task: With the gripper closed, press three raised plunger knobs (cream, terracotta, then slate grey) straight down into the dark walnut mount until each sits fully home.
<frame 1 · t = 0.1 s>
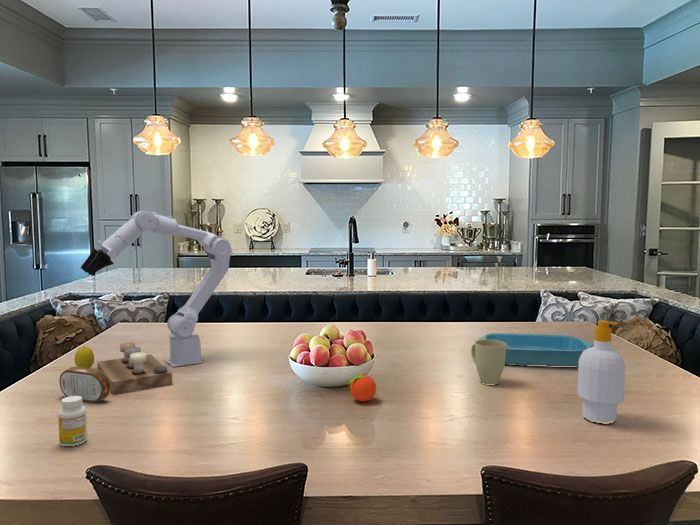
hand: (85, 271, 162), 32 cm above the table, tool tilted 50°, fingers open, 7 cm apart
clementine: (361, 401, 145), on the table
mug: (486, 382, 161), on the table
supplement bottle: (73, 443, 119), on the table
knob cream: (138, 363, 157), point 6 cm above the table, slide at 0.0 cm
tin: (84, 400, 145), on the table
casserole dish: (534, 361, 186), on the table
soap bottle: (598, 420, 133), on the table
knob slate: (133, 357, 163), point 6 cm above the table, slide at 0.0 cm
knob terracotta: (127, 352, 169), point 6 cm above the table, slide at 0.0 cm
mount: (133, 378, 164), on the table
lemon: (85, 371, 171), on the table
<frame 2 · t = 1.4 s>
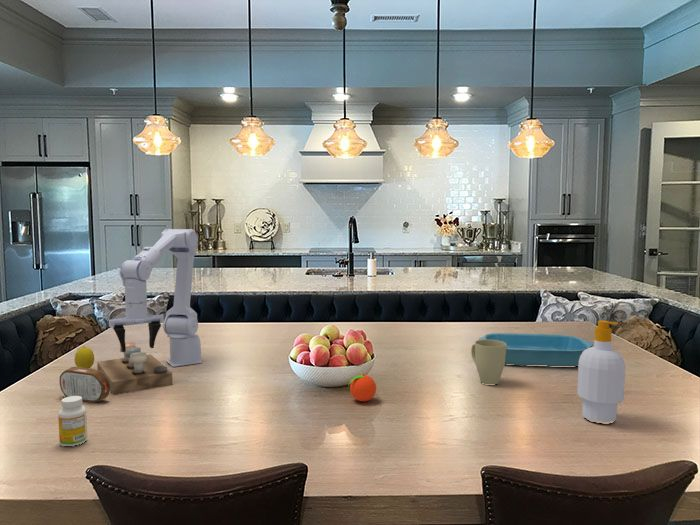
hand: (137, 349, 157), 10 cm above the table, tool pointing down, fingers open, 7 cm apart
nothing on the table moved.
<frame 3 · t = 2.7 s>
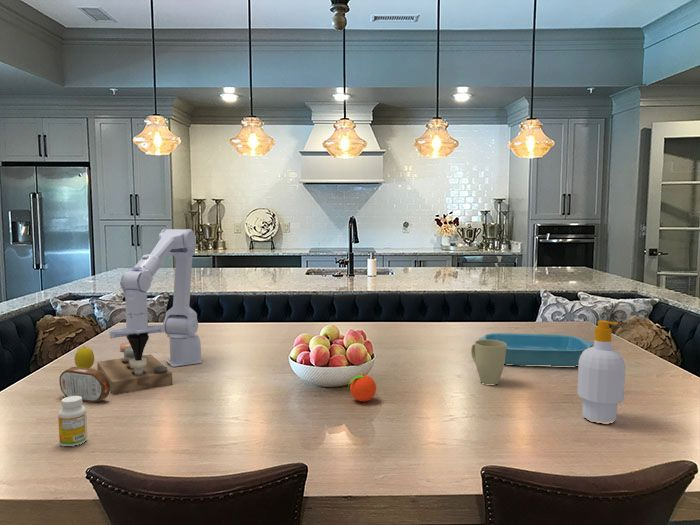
hand: (138, 359, 157), 7 cm above the table, tool pointing down, fingers closed, pressing on knob cream
knob cream: (138, 368, 157), point 5 cm above the table, slide at 1.6 cm, touching gripper
everything else where it was.
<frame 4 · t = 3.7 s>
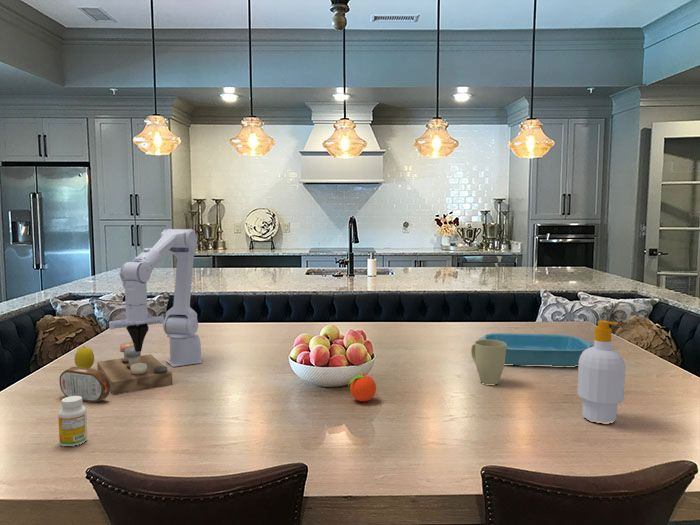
hand: (138, 350, 157), 10 cm above the table, tool pointing down, fingers closed
knob cream: (138, 374, 157), point 3 cm above the table, slide at 3.2 cm
everything else where it was.
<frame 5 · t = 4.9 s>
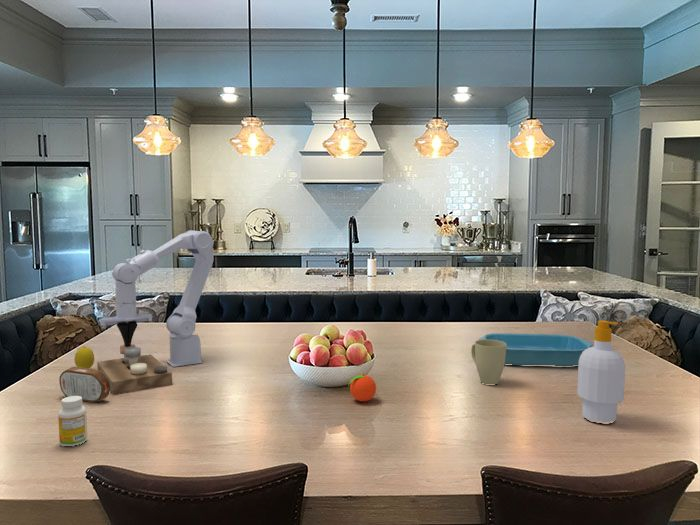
hand: (127, 346, 169), 8 cm above the table, tool pointing down, fingers closed, pressing on knob terracotta
knob terracotta: (127, 354, 169), point 6 cm above the table, slide at 0.6 cm, touching gripper
everything else where it was.
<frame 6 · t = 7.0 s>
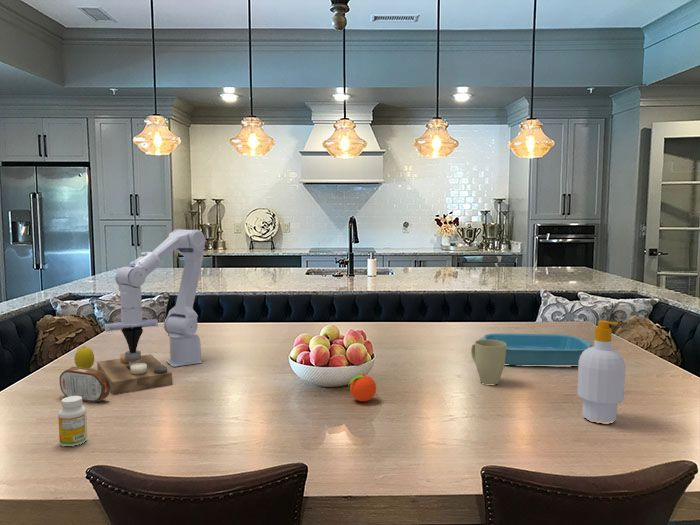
hand: (132, 352, 163), 8 cm above the table, tool pointing down, fingers closed, pressing on knob slate
knob slate: (133, 360, 163), point 5 cm above the table, slide at 1.0 cm, touching gripper
knob terracotta: (128, 362, 169), point 3 cm above the table, slide at 3.2 cm
everything else where it was.
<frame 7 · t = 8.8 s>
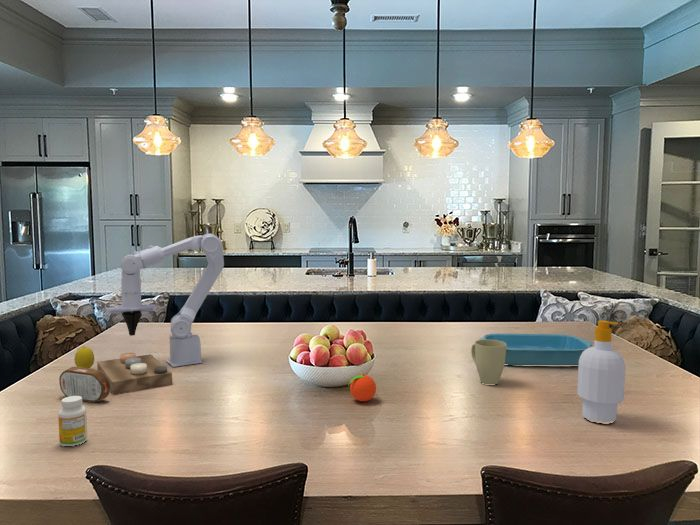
hand: (132, 334, 175), 10 cm above the table, tool pointing down, fingers closed
knob slate: (133, 368, 163), point 3 cm above the table, slide at 3.2 cm
everything else where it was.
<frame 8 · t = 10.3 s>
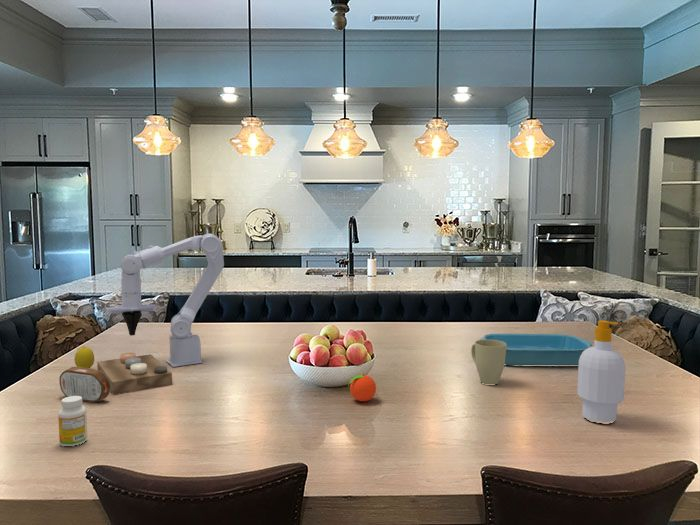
hand: (132, 334, 175), 10 cm above the table, tool pointing down, fingers closed
nothing on the table moved.
at the end: knob cream slide at 3.2 cm; knob terracotta slide at 3.2 cm; knob slate slide at 3.2 cm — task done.
